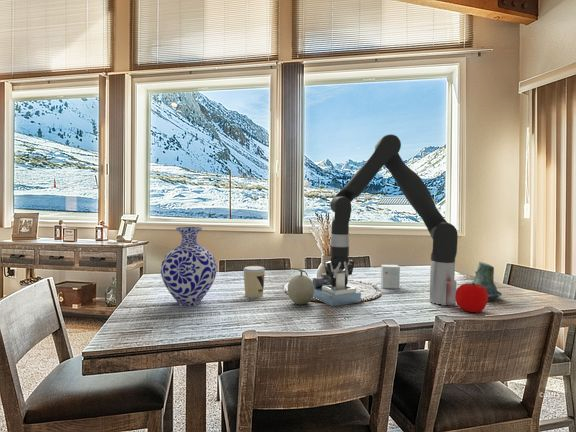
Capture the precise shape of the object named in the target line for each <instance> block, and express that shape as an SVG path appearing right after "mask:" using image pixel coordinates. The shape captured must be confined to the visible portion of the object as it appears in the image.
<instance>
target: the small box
mask: <svg viewBox="0 0 576 432" xmlns="http://www.w3.org/2000/svg"><path fill="white" fill-rule="evenodd" d="M380 269H381V272H380V273H381V274H380V275H381V276H380V287H382V289H396V290H397V289H400V284H401V283H400V282H401V280H400V275H401V266H399V265H398V264H381V268H380Z"/></svg>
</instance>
